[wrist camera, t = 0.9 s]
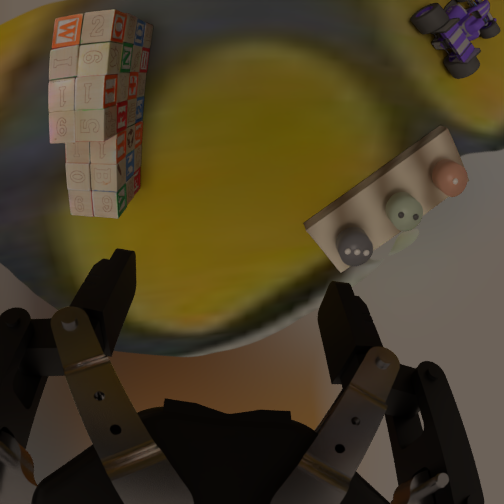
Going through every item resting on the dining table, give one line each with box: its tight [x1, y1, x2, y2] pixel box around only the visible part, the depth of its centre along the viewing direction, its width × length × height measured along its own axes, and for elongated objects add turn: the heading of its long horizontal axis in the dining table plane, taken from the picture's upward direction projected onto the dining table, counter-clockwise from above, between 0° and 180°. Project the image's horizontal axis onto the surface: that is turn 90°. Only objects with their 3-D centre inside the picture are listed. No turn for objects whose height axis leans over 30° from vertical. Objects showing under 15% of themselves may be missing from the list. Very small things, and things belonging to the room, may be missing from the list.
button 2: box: [385, 192, 423, 231], centre depth 37 cm, size 4×4×3 cm
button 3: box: [336, 227, 373, 266], centre depth 39 cm, size 4×4×3 cm
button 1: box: [432, 159, 468, 197], centre depth 34 cm, size 4×4×3 cm
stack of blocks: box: [48, 9, 153, 218], centre depth 28 cm, size 21×6×12 cm, turn 172°
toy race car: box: [410, 0, 500, 79], centre depth 24 cm, size 10×15×6 cm, turn 138°
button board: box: [304, 125, 469, 273], centre depth 40 cm, size 24×9×2 cm, turn 130°
